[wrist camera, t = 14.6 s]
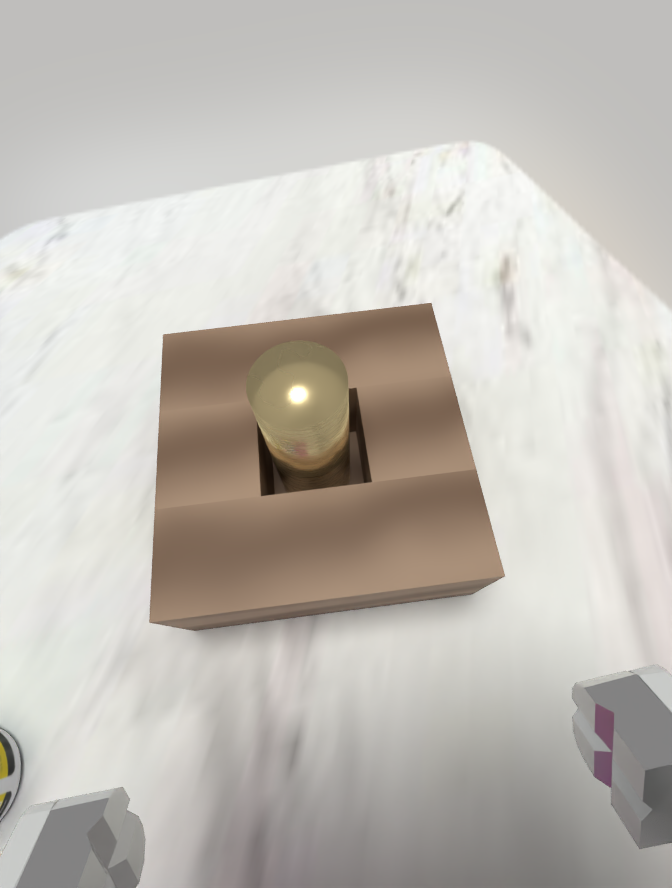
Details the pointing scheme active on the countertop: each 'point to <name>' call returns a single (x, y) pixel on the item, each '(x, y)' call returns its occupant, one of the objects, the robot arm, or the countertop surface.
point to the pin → (303, 413)
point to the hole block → (320, 510)
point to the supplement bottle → (8, 771)
